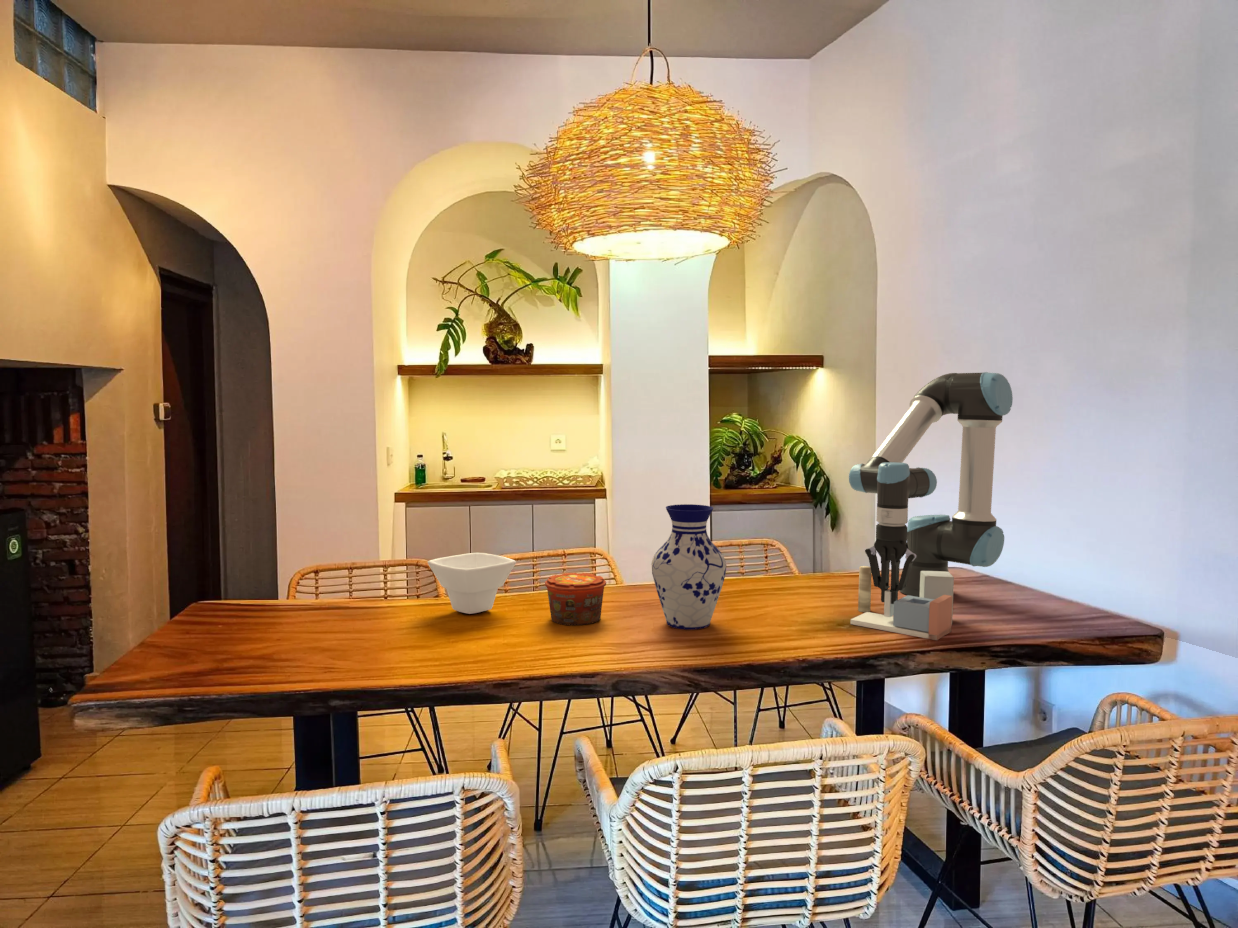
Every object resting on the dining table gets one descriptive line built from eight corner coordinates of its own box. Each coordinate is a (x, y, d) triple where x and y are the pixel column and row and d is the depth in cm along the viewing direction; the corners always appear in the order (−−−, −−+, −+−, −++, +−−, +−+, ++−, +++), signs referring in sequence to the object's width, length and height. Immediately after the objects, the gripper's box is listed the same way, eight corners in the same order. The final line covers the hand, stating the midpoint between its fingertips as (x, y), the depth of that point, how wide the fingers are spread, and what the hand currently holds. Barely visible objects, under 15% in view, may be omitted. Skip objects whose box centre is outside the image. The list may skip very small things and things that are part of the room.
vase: (732, 617, 225) (734, 504, 223) (716, 637, 207) (718, 514, 205) (662, 611, 231) (663, 501, 229) (641, 629, 214) (642, 510, 211)
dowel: (861, 608, 236) (862, 565, 235) (872, 610, 234) (873, 567, 233) (856, 610, 233) (857, 567, 232) (867, 612, 231) (868, 568, 230)
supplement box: (952, 625, 219) (954, 576, 218) (922, 624, 220) (923, 575, 219) (947, 618, 226) (949, 571, 225) (918, 616, 227) (919, 569, 226)
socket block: (907, 618, 220) (907, 595, 220) (942, 624, 214) (943, 600, 214) (893, 625, 213) (893, 601, 213) (929, 632, 207) (930, 607, 207)
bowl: (522, 611, 231) (522, 560, 230) (464, 625, 217) (463, 571, 216) (479, 599, 244) (479, 551, 243) (421, 612, 230) (420, 560, 229)
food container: (534, 623, 219) (534, 582, 218) (560, 608, 234) (560, 570, 233) (592, 630, 213) (592, 587, 213) (615, 614, 228) (615, 574, 228)
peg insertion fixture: (866, 616, 228) (867, 582, 227) (951, 631, 213) (952, 595, 213) (850, 623, 220) (851, 589, 219) (936, 640, 206) (938, 603, 205)
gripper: (861, 523, 218) (858, 614, 220) (911, 528, 209) (908, 623, 211) (872, 519, 223) (870, 608, 225) (922, 524, 215) (919, 616, 217)
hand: (888, 615), depth 218 cm, fingers closed
